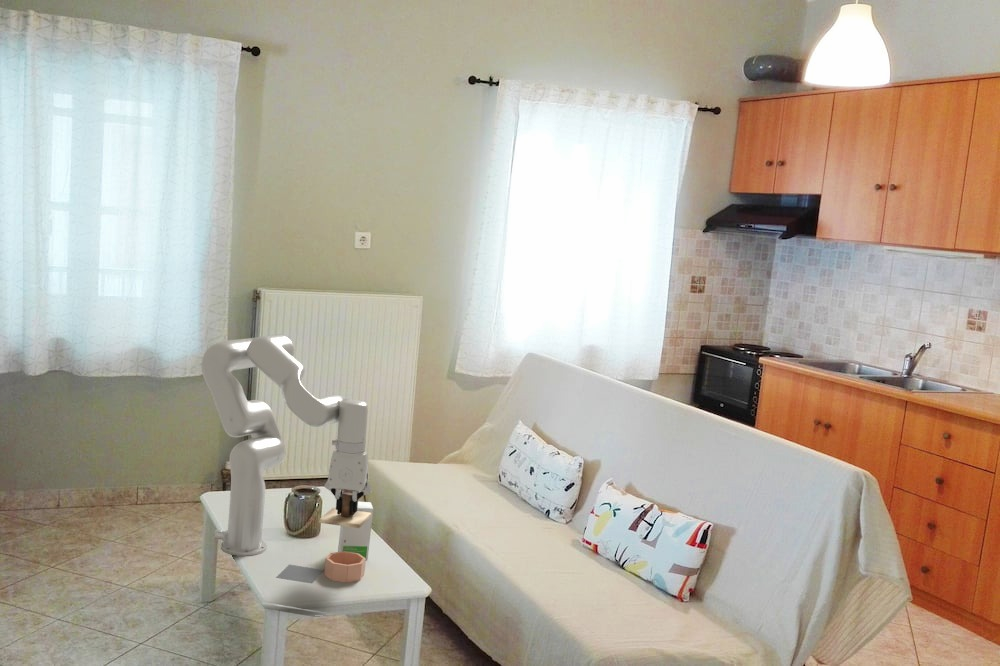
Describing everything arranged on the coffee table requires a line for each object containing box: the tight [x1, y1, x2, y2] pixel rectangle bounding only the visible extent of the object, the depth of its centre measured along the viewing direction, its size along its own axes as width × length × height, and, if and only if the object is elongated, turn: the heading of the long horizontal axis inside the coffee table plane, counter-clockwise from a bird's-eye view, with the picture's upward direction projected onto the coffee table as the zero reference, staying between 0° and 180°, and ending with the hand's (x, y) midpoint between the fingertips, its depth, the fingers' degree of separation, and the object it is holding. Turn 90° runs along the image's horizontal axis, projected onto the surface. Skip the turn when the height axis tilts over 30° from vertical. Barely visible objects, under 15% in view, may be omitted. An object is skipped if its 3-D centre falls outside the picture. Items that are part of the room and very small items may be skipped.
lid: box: [318, 492, 372, 528], centre depth 257 cm, size 11×11×7 cm
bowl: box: [324, 551, 366, 583], centre depth 259 cm, size 10×10×5 cm
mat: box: [275, 564, 325, 584], centre depth 257 cm, size 10×10×1 cm
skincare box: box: [337, 500, 374, 561], centre depth 274 cm, size 8×7×16 cm
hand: (346, 513), depth 257 cm, fingers closed on lid, 2 cm apart
